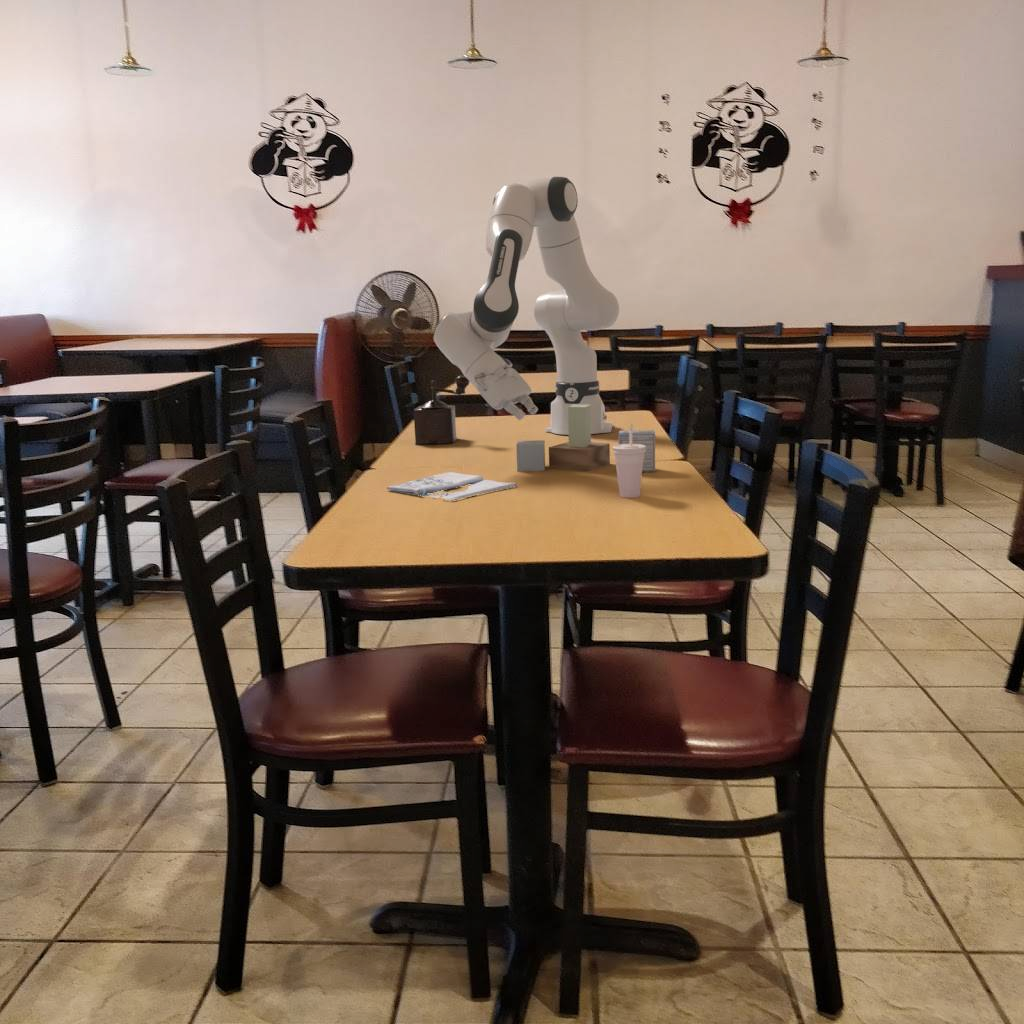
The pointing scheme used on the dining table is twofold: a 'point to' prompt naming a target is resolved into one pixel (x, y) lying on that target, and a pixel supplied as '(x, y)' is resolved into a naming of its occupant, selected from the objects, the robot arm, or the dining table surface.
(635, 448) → the smoothie
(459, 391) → the coffee grinder
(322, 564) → the dining table surface
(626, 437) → the medicine box
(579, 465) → the walnut block
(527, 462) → the slate block
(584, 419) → the sage pillar
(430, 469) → the dining table surface
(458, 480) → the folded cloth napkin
